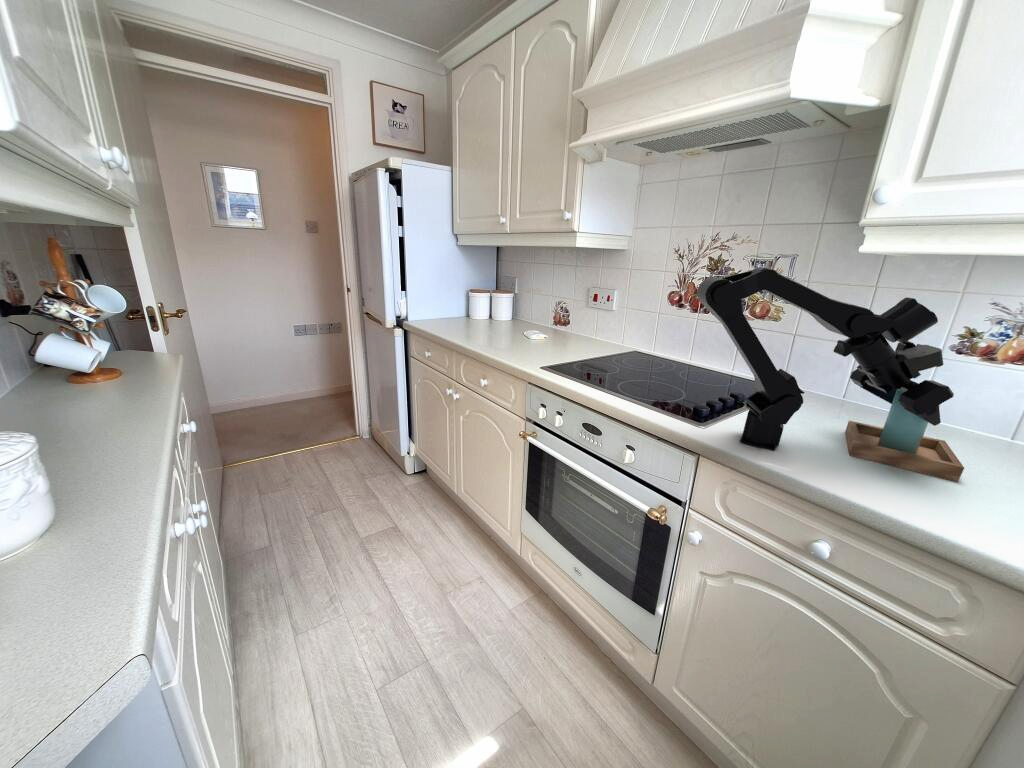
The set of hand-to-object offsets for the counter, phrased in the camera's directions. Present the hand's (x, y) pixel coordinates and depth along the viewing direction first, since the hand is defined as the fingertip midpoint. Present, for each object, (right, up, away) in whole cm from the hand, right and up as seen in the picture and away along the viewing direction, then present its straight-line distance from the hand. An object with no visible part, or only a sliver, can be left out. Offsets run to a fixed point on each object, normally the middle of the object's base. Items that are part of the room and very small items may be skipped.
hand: (918, 414), depth 82 cm
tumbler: (-2, -8, +3) cm, 8 cm away
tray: (-2, -9, +3) cm, 9 cm away
